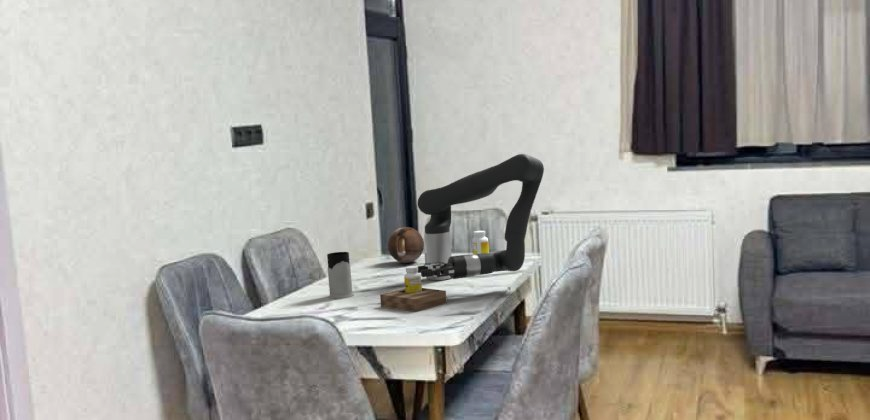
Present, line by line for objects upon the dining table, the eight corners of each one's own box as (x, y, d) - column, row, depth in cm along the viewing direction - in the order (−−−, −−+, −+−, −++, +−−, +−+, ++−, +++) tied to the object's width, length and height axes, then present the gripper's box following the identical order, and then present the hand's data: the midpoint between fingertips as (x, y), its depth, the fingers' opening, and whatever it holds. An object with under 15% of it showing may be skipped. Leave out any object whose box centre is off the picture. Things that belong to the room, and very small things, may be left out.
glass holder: (334, 300, 303) (330, 256, 302) (319, 294, 316) (316, 252, 314) (357, 296, 307) (354, 253, 306) (342, 290, 320) (339, 249, 318)
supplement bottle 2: (491, 261, 361) (489, 230, 359) (487, 264, 354) (485, 232, 353) (476, 261, 363) (473, 230, 362) (471, 264, 357) (469, 232, 355)
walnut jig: (381, 306, 287) (380, 294, 286) (412, 298, 297) (411, 286, 296) (415, 311, 276) (414, 299, 275) (446, 303, 285) (445, 290, 285)
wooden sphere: (404, 259, 382) (401, 224, 381) (432, 260, 374) (429, 225, 372) (382, 265, 370) (379, 229, 369) (410, 266, 362) (408, 230, 360)
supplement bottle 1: (405, 295, 291) (403, 266, 291) (422, 294, 292) (420, 265, 291) (405, 298, 286) (403, 268, 285) (422, 297, 286) (420, 267, 285)
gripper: (456, 252, 300) (410, 257, 295) (471, 257, 286) (423, 263, 282) (457, 274, 301) (411, 280, 296) (472, 280, 287) (424, 286, 282)
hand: (417, 272), depth 289 cm, fingers open, 8 cm apart
